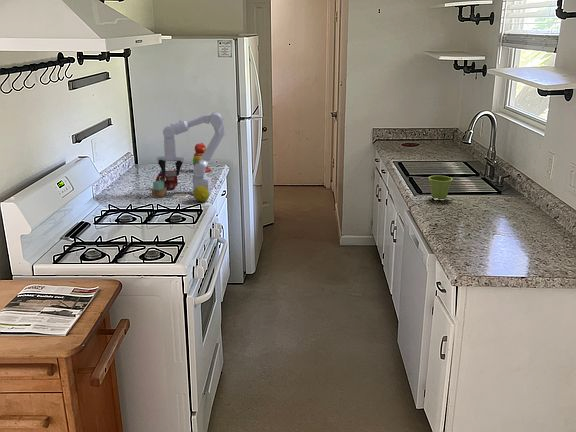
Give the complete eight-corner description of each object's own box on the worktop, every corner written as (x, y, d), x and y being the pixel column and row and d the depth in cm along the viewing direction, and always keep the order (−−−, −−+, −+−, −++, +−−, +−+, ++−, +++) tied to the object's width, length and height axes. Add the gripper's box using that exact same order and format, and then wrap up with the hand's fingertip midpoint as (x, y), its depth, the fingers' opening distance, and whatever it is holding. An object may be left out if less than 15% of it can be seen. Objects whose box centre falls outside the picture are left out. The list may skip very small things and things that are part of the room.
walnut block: (167, 195, 301) (166, 188, 299) (162, 198, 295) (162, 190, 294) (156, 194, 302) (155, 187, 300) (151, 197, 296) (151, 190, 295)
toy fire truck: (157, 187, 317) (156, 169, 314) (179, 187, 317) (178, 168, 314) (155, 190, 310) (153, 171, 307) (177, 190, 311) (176, 171, 307)
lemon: (210, 203, 284) (209, 188, 282) (194, 204, 283) (193, 189, 280) (208, 198, 294) (207, 183, 292) (193, 199, 293) (192, 183, 290)
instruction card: (190, 194, 301) (190, 194, 300) (186, 197, 295) (186, 197, 295) (175, 194, 302) (175, 193, 302) (171, 197, 296) (171, 196, 296)
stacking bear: (200, 174, 347) (199, 145, 342) (189, 172, 353) (187, 143, 348) (213, 171, 356) (212, 143, 350) (201, 169, 361) (200, 141, 356)
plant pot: (423, 200, 289) (425, 178, 285) (431, 195, 298) (433, 174, 295) (446, 204, 282) (448, 182, 279) (454, 198, 292) (455, 177, 289)
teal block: (164, 188, 298) (163, 181, 297) (158, 190, 295) (158, 183, 293) (158, 187, 300) (158, 180, 299) (153, 189, 297) (152, 182, 295)
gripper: (185, 148, 299) (186, 173, 303) (159, 147, 301) (161, 172, 305) (181, 150, 292) (182, 176, 296) (154, 149, 294) (155, 175, 298)
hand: (171, 174), depth 300 cm, fingers open, 7 cm apart
